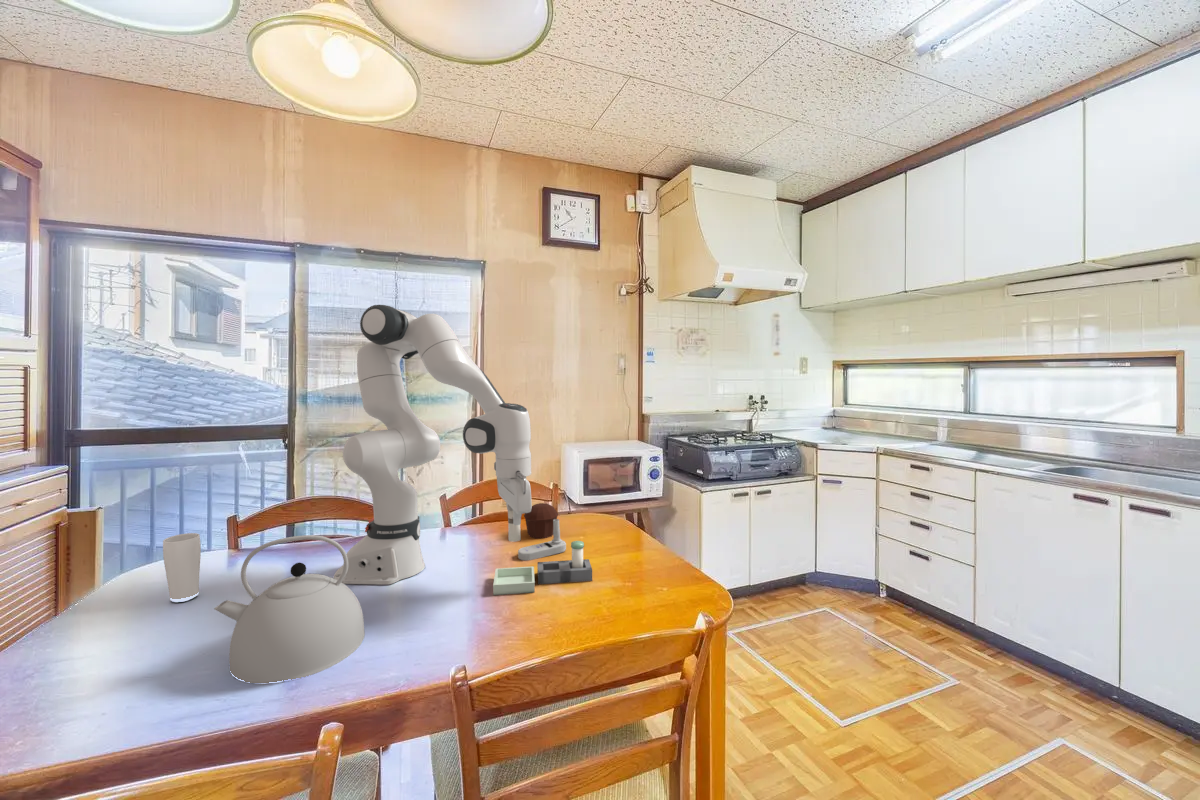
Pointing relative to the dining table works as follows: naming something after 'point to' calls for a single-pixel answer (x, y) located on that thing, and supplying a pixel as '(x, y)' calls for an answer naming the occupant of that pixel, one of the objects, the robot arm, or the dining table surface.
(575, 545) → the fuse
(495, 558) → the dining table surface
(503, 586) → the parts tray
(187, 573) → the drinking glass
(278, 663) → the kettle
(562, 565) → the socket block
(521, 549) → the electronic device
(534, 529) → the muffin
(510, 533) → the cylinder
